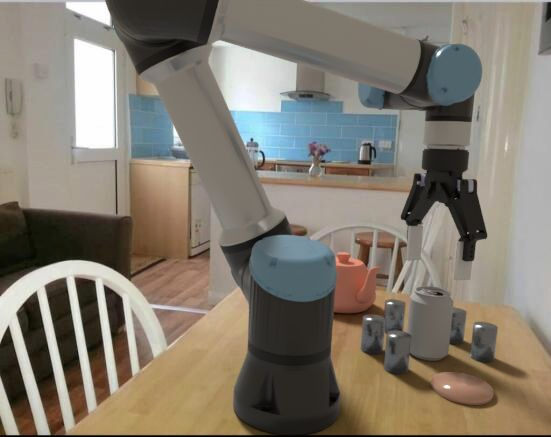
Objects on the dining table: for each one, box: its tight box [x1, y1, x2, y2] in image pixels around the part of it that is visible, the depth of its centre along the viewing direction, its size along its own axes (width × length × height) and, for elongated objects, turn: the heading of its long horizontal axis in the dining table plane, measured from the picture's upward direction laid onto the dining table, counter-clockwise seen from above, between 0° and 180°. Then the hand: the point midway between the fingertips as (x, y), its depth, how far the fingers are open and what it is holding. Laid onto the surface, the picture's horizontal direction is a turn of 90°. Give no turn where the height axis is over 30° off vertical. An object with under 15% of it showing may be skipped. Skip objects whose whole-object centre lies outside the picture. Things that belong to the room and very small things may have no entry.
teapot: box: [334, 251, 383, 314], centre depth 114 cm, size 22×16×12 cm
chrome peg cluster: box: [360, 298, 499, 375], centre depth 93 cm, size 22×19×6 cm
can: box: [406, 285, 454, 362], centre depth 90 cm, size 8×8×12 cm
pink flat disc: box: [430, 371, 494, 406], centre depth 78 cm, size 9×9×1 cm
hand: (435, 269), depth 88 cm, fingers open, 13 cm apart
